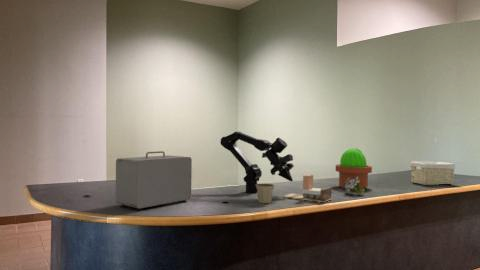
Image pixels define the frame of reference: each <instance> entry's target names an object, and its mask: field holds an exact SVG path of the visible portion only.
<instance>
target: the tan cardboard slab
mask: <svg viewBox="0 0 480 270" xmlns="http://www.w3.org/2000/svg"><path fill="white" fill-rule="evenodd" d="M320 189H321V195H320V199H316V197H314V198H310V197H306V198H304V197H303V194H301V193H300V194H299V193H288V194H284V195H282V198H283V197H285V198H284V199H288V198H292V199H291V200H296V199H300V200H299V201H304V200H310V201H309V202H312V201H318V202H317V203H320V202H326V201H328V200H331V199H333V198H332V187H331V186H330V187H329V186H327V187H324V188H320ZM331 201H332V200H331ZM328 202H329V201H328ZM326 203H327V202H326Z"/></svg>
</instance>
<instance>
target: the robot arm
mask: <svg viewBox="0 0 480 270" xmlns="http://www.w3.org/2000/svg"><path fill="white" fill-rule="evenodd" d="M239 140H240V141H242V142H244V143H247V144H249V145H252V146H253V147H254V148H255V149H256V150H258V151H260V152H261V151H262V155H261V158H263V159H264V158H266V159H267V160H268V162H270V166H273V167H272V168H271V169H270V174H271V175H272V176H274V175H276V173H277V172H278V173H277V176H280V177H282V178H284V179H286V180H287V181H289V182H293V181H294V179H293V177H292V175H291V172H290V171H291V169H293V168H294V167H295V166H294V164H293V163H292V162H291V161H294V156H293V155H292V154H291V153H288V154H286V155H284V156H280V155H279V154H281V153H282V152H283V151H284V150H285V149H286V148H287V147H288V144H287V142H286V141H284V140H283V139H282V138H281V137H277V138H276V139H275V140H274V141H273V143H272V142H270V141H269V140H267V139H261V138H260V139H259V138H255V137H253V136H251V135H248V134H246V133H243V132H241V131H234V132H233V133H231V134H229V135H226V136H223V137H221V138H220V142H219V143H220V145H221V146H222V147H223V148H224V149H225V150H228V151H229V152H230V153H231V154H232V155H233V157H234V158H236V160H237V161H238V162H239V164H240V165H241V166H242V167H243V168H244V170H245V174H246V175H245V176H244V177H243V178H242V179H243V182H244V183H245V191H244V193H246V194H250V193H251V194H258V192H257V188H256V184H258V182H259V181H260V178H261V177H262V174H263V173H262V170H261V168H260V166H259V165H258V164H257V163H254V164H252V163H251V161H250V160H249V159H248V158H247V157H246V156H245V154H244V153H243V152H242V151H241V150H240V148H239V147H238V146H237V142H238V141H239ZM264 151H265V152H264ZM288 162H289V163H288ZM290 162H291V163H290Z"/></svg>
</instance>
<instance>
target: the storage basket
mask: <svg viewBox="0 0 480 270" xmlns="http://www.w3.org/2000/svg"><path fill="white" fill-rule="evenodd" d="M455 169H456V163H453V162H452V163H451V162H444V161H411V162H410V170H411V171H410V173H411V182H412V183H414V184H418V185H426V186H434V185H436V186H439V184H451V185H453V180H454V174H455Z"/></svg>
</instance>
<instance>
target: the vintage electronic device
mask: <svg viewBox="0 0 480 270" xmlns="http://www.w3.org/2000/svg"><path fill="white" fill-rule="evenodd" d="M149 154H163V155H153V156H149ZM192 161H193V160H192V158H191V157H190V156H180V155H169V154H167V155H166V153H165V151H163V150H162V151H161V150H160V151H158V150H157V151H147V152H146V153H145V156H137V157H135V156H134V157H118V158H116V160H115V203H116V204H118V205H121V207H123V208H126V207H131V208H134V209H135V208H136V209H137V211H139V212H141V210H142V211H144V208H145V209H146V208H150V207H154V206H160V205H167V204H172V203H176V202H181V203H187V201H188V200H190V199H192V169H193V168H192Z"/></svg>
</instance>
